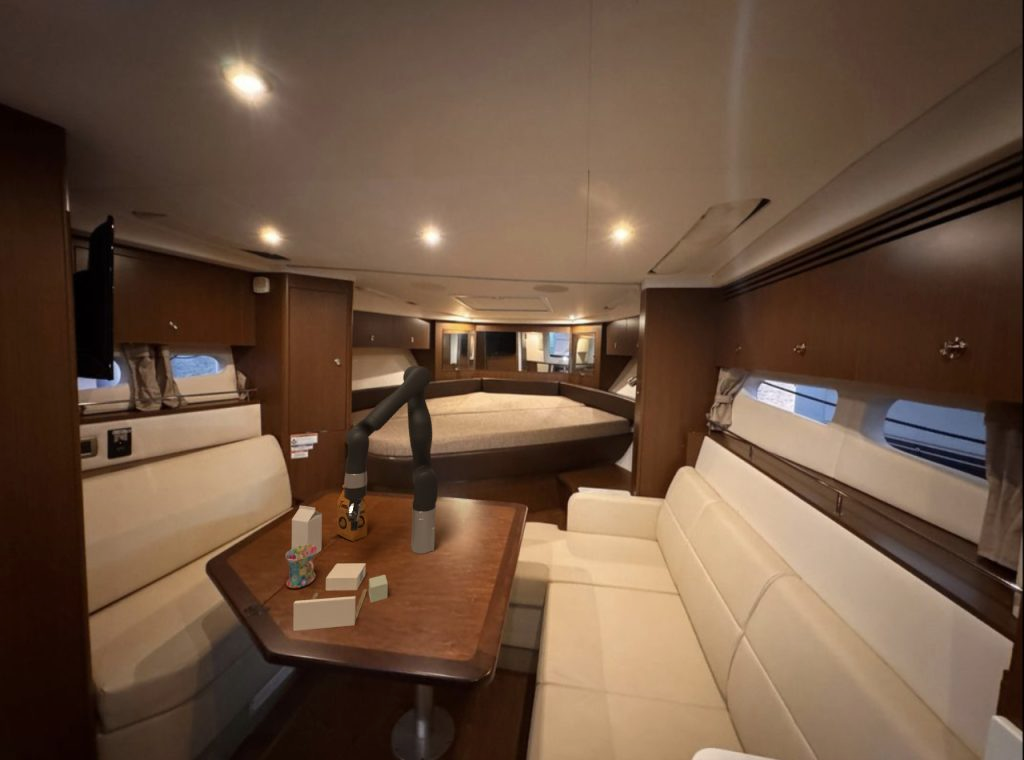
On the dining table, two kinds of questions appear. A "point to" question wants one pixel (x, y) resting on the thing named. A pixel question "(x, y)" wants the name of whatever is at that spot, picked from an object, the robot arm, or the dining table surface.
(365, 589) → the frame
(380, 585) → the green box
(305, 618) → the backdrop
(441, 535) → the dining table surface
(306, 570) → the mug
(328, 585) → the carton
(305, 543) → the milk carton
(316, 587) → the dining table surface
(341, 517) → the coffee package
